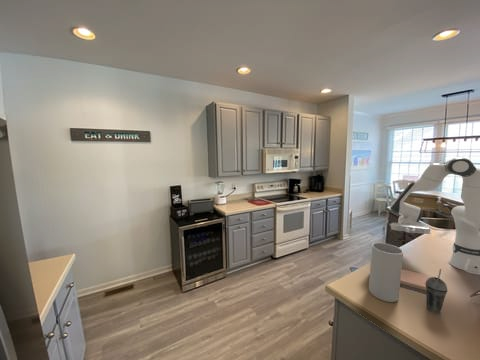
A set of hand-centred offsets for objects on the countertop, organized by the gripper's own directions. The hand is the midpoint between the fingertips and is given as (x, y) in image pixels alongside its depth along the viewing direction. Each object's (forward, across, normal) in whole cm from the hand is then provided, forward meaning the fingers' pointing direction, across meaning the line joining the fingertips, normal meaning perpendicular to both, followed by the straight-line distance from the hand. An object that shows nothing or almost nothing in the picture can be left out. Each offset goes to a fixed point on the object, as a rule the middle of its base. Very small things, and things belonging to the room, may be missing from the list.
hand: (411, 231), depth 128 cm
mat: (+24, -2, +22) cm, 33 cm away
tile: (+15, -2, +21) cm, 26 cm away
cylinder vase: (+45, -17, +22) cm, 53 cm away
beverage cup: (+45, +2, +23) cm, 50 cm away
